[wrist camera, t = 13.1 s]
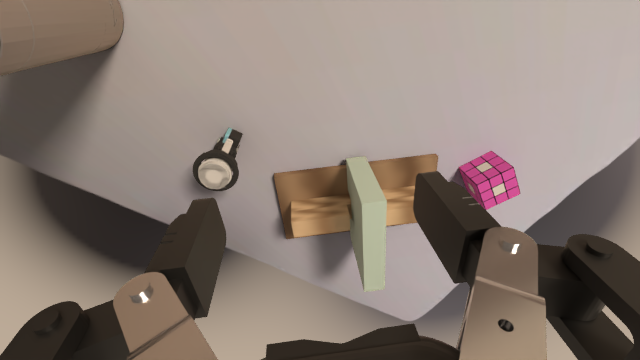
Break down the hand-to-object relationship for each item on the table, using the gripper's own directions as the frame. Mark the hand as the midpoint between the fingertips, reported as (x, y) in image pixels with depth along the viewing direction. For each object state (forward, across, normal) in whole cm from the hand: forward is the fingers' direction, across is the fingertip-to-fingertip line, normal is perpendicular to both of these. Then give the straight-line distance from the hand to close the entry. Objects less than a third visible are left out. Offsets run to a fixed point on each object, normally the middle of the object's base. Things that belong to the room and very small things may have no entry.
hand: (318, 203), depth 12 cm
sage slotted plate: (+30, -8, +22) cm, 38 cm away
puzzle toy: (+31, -29, +20) cm, 47 cm away
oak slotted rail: (+31, -8, +22) cm, 39 cm away
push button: (+32, +12, +10) cm, 35 cm away
